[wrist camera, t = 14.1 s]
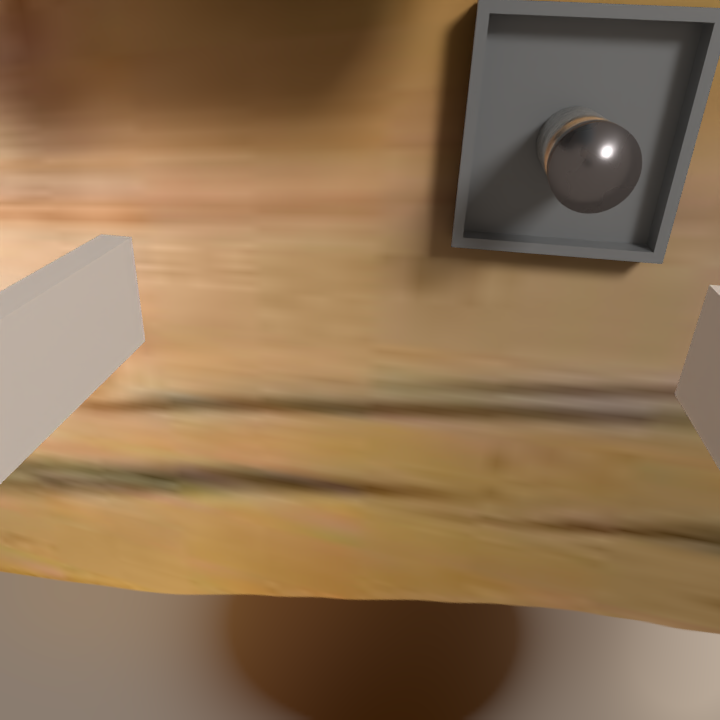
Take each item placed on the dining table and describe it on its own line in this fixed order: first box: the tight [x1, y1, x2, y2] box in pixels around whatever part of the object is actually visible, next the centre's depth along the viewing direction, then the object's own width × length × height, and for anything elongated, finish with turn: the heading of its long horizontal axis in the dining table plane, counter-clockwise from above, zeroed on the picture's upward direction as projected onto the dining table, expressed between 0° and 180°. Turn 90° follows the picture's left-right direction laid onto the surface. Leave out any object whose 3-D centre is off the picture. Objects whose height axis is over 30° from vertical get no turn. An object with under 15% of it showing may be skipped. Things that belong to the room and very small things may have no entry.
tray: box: [451, 0, 720, 264], centre depth 45 cm, size 17×16×3 cm
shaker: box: [536, 106, 642, 214], centre depth 41 cm, size 5×5×10 cm
